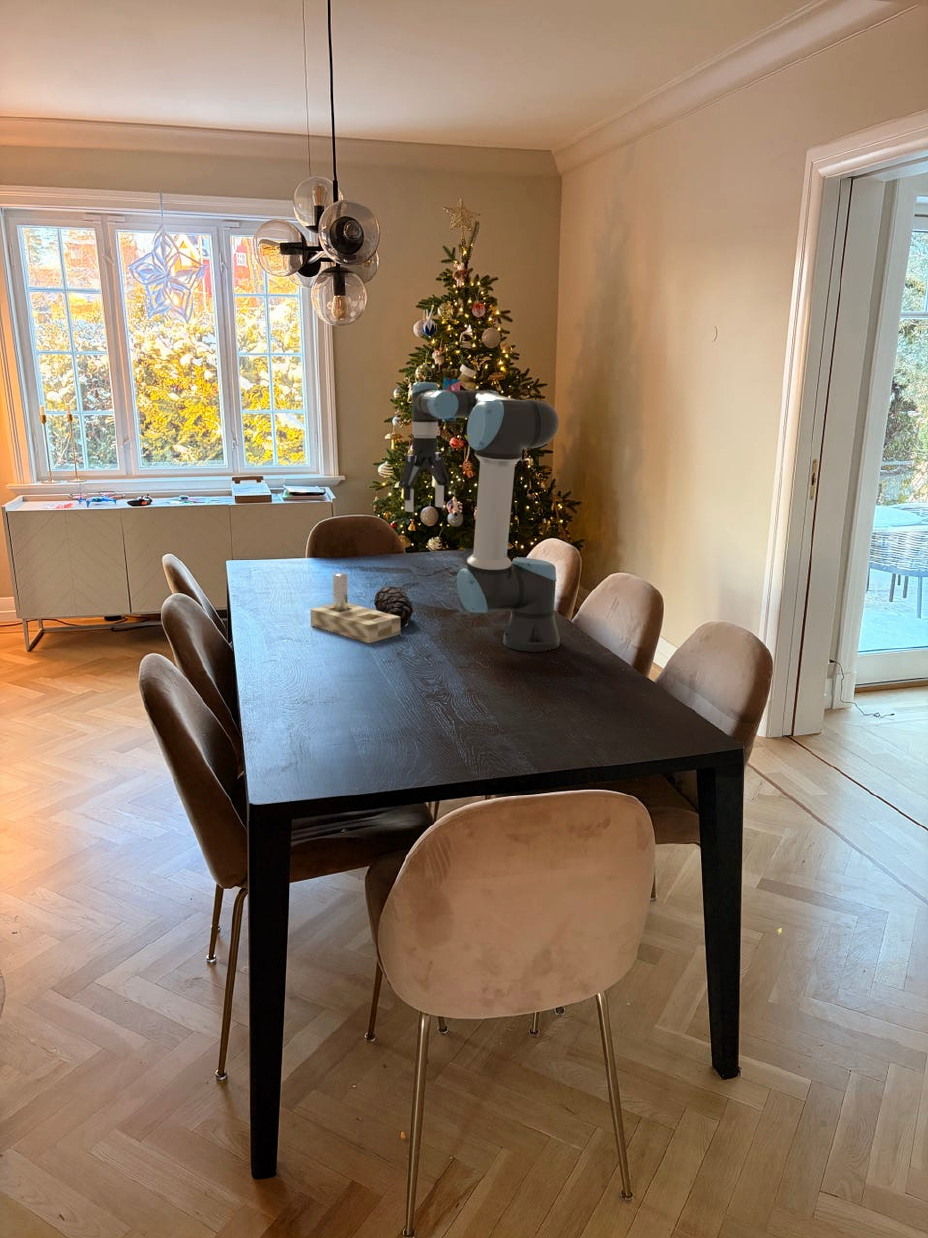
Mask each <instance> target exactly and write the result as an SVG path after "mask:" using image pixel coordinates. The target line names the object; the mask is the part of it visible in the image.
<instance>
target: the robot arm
mask: <svg viewBox="0 0 928 1238" xmlns="http://www.w3.org/2000/svg"><path fill="white" fill-rule="evenodd" d="M411 390H412V391H411V408H412V409H411V410H412V411H411V416H412V417H411V419H412V420H411V421H412V426H411V427H412V428H411V433H412V436H414V437H412V439H411V448H412V450H413V452H414V453H413V454H406V456H405V462H404V463H405V464H404V466H403V470H402V472H401V476H400V479H399V483H398V487H399V488H400V489H403V500H404V512H408V513H414V511H415V510H414V508H415V507H414V500H415V499H414V491H415V489H413V486H414V484H415V483H416V480H418V479H417V478H418V477H419V475H420V473H421V472H422V471H423V470H429V472H430V473H431V475H432V477H433V479H434V480H435V482H436V483H437V484H435V487H434V488H435V489H434V490H435V491H434V493H435V495H434V497H435V499H434V501H435V502H434V506H435V507H436V508H444V506H445V505H444V503H445V500H444V499H445V497H444V496H445V494H446V493H445V486H448V485H449V483H450V481H451V480H450V476H449V473H448V470H447V466H446V464H445V461H444V454H443V452H440V451H438V448H439V445H438V443H439V442H438V440H439V439H438V437H437V436H438V435H439V419H441V420H442V419H449V418H450V419H451V418H453V419H455V418H457V419H458V418H460V419H461V418H463V419H465V418H468V421H467V425H466V436H467V442H468V443H467V444H468V445H469V446H470V447H471V448H472V449H473V450H474V456H475V457H476V458H477V459H478V461H479V474H478V484H477V485H478V486H477V500H476V503H477V504H476V515H475V526H474V528H475V529H474V538H473V539H474V541H473V552H472V554H471V555H469V557H467V559H466V566H465V567H463V568H462V569H460V570H459V571H458V573H457V575H456V589H457V592H458V596H459V599H460V602H461V603H462V605H463V607H464V608H465V609H466V610H467V611H468V612H470V613H483V614H486V613H489V612H496V611H506V610H508V611H509V610H510V616H509V619H508V623H507V625H506V627H505V630H504V633H503V645H504V646H505V647H507V648H509V649H512V650H515V651H521V652H522V651H523V652H531V653H532V652H534V653H535V652H536V653H537V652H538V653H539V652H548V651H547V650H549V651H552V650H551V649H553V650H555V649H557V648H559V647H560V640H561V639H560V634H559V632H558V626H557V624H556V619H555V604H556V603H555V602H556V583H557V570H556V567H555V565H554V564H553V563H551V562H550V561H546V560H542V559H537V558H533V557H532V558H531V557H521V556H520V557H514V558H513V559H512V561H511V559H510V558H509V557H508V546H509V533H510V522H511V514H512V513H511V511H512V501H513V489H514V478H515V467H516V464H517V463H518V462H519V461H520V460H521V459H522V458H523V449H535V448H540V447H542V446H545V445H547V444H548V443H549V442H551V441H552V440H553V439H554V437H555V436H556V435H557V433H558V431H559V430H558V429H559V425H560V422H559V421H560V420H559V419H560V418H559V415H558V413H557V411H556V409H555V408H554V407H553V406H552V405H551V404H549V403H548V402H546V401H543V400H538V399H515V398H511V397H507V396H503V395H500V393H499V392H498V391H496V390H489V389H488V390H487V389H485V390H461V389H460V390H458V389H456V390H454V389H453V390H449V389H439V384H438V383H437V382H428V381H427V382H417V381H416V382H414V383H413V384H412V389H411ZM437 451H438V452H437Z"/></svg>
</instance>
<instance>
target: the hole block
mask: <svg viewBox="0 0 928 1238" xmlns="http://www.w3.org/2000/svg"><path fill="white" fill-rule="evenodd" d="M309 611H310V627H313V626H315V627H314V628H316V627H318V628H317V629H319V628H321V629H320V630H323V629H325V630H324V631H326V630H328V631H327V632H330V631H331V632H330V633H333V632H335V633H334V634H336V633H338V634H337V635H340V634H341V636H343V635H344V637H346V636H347V638H350V639H354V640H357V641H359V642H363V643H367V644H370V643H374V642H378V641H381V640H385V639H388V638H391V637H394V636H399V635H401V628H400V617H399V616H395V615H392V614H388V613H384V612H380V611H377V610H376V609H372V608H368V607H364V606H361V605H356V604H353V603H349V602H348V610H347V611H343V612H336V611H334V603H332V604H331V603H330V604H327V605H322V606H318V607H315V608H310V609H309ZM398 634H399V635H398Z"/></svg>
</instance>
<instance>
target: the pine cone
mask: <svg viewBox="0 0 928 1238" xmlns="http://www.w3.org/2000/svg"><path fill="white" fill-rule="evenodd" d="M373 602H374V603H373V604H374V606H375V610H376V611H380V612H384V613H388V614H392V615H395V616H399V617H400V627H404V626H405V625H406V624H407V623H408V624H409V620H410V619H411V618H412V615H413V614H414V613H413V612H414V611H415V610H414V607H413V603H412V601H411V600H410V598H409V597H408V595H407V592H405V591H404V590H402V589H401V588H400V587H399V586H395V585H386V586H384V587H381V588H380V589H379V590H378V591H377V592H376V593H375V595H374V601H373ZM404 628H405V627H404Z"/></svg>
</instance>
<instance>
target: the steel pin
mask: <svg viewBox="0 0 928 1238" xmlns="http://www.w3.org/2000/svg"><path fill="white" fill-rule="evenodd" d="M332 588H333V589H332V591H333V592H332V593H333V594H332V595H333V597H332V598H333V604H334V611H336V612H343V611H347V610H348V603H349V602H348V601H349V596H348V593H349V592H348V590H349V588H348V574H347V573H345V572H336V573H332Z"/></svg>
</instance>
